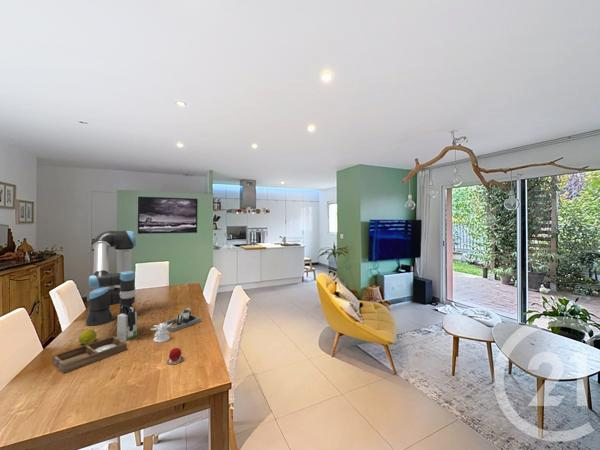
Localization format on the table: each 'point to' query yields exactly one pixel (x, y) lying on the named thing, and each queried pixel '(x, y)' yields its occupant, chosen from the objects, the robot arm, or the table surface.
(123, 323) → the skincare box
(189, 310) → the camera
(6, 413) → the table surface
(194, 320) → the valet frame
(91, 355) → the divided wooden tray
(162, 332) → the figurine
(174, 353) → the red push button
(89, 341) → the lemon
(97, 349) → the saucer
